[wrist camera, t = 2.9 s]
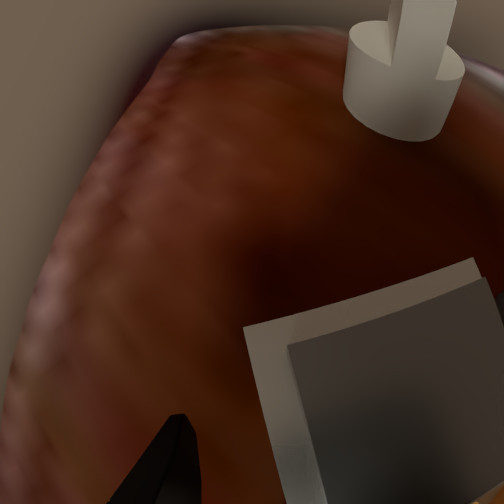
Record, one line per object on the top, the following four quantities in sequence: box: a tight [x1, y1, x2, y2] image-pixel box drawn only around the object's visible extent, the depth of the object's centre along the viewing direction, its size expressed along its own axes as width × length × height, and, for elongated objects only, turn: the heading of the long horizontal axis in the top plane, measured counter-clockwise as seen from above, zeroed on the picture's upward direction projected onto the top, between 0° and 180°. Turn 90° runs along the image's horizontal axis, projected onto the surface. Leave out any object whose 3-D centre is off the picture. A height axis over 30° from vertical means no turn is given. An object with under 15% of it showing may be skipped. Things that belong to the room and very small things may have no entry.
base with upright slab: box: [343, 0, 465, 141], centre depth 17 cm, size 9×9×12 cm
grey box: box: [243, 257, 504, 504], centre depth 9 cm, size 4×4×13 cm
